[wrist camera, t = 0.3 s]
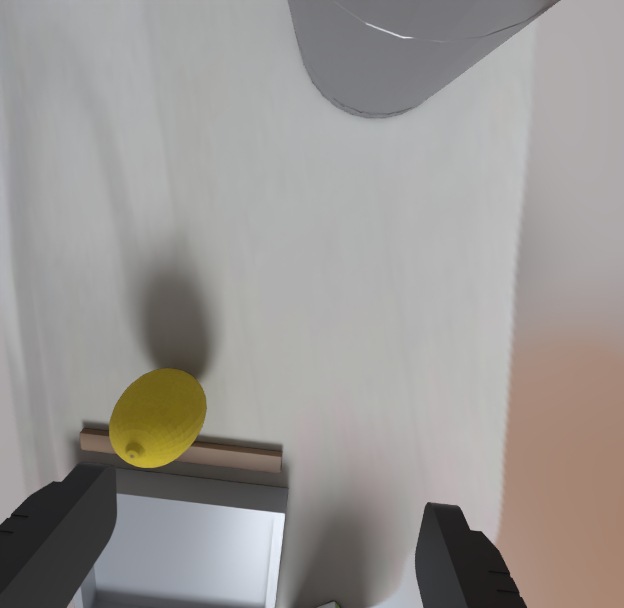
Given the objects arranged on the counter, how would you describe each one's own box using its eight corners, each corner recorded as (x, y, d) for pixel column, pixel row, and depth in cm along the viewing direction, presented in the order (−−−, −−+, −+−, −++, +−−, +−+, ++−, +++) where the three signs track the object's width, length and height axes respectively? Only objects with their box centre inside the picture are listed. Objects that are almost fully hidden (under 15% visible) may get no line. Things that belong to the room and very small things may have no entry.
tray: (78, 463, 32) (58, 486, 30) (288, 488, 32) (285, 513, 30) (93, 599, 37) (77, 628, 35) (273, 621, 37) (269, 652, 35)
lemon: (133, 365, 29) (63, 433, 21) (197, 339, 28) (148, 400, 20) (170, 423, 30) (117, 506, 23) (232, 400, 30) (198, 478, 22)
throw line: (84, 428, 31) (79, 433, 30) (282, 451, 31) (281, 457, 30) (85, 444, 31) (81, 449, 31) (280, 467, 31) (280, 473, 31)
